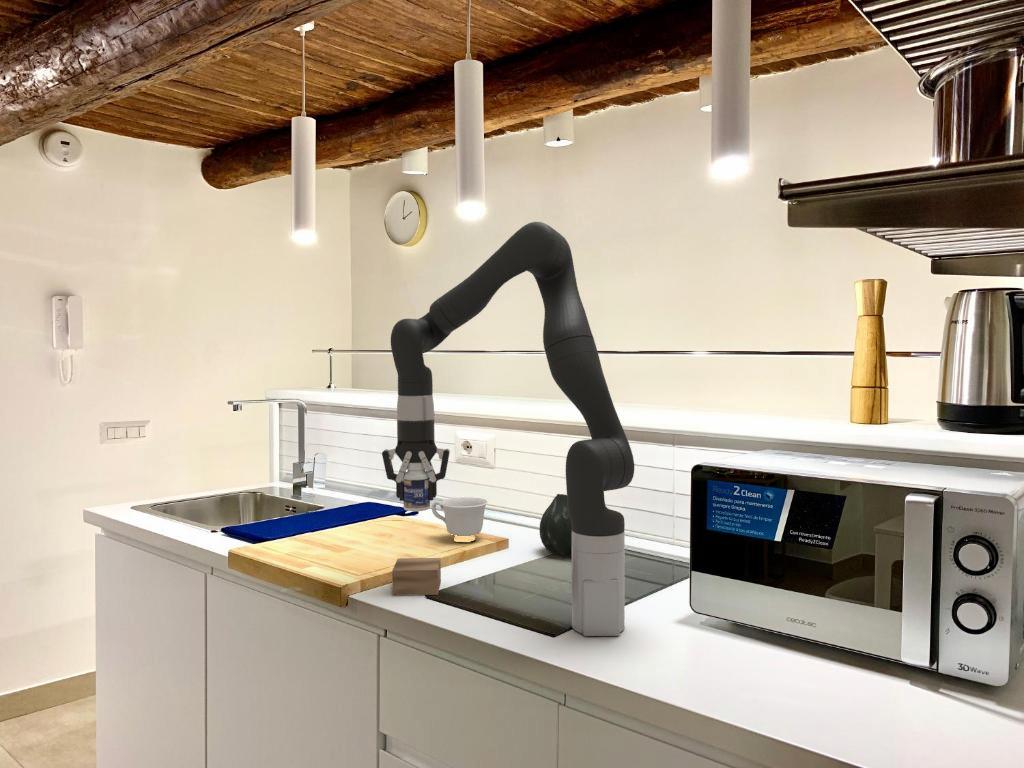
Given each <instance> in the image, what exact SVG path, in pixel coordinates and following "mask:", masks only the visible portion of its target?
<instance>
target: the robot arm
mask: <svg viewBox="0 0 1024 768" xmlns="http://www.w3.org/2000/svg"><path fill="white" fill-rule="evenodd" d="M574 265H575V264H574V260H573V253H572V249H571V247H570V244H569V242H568V240H567V238H565V237H564V236H563V235H562V234H561V233H560V232H559V231H557V230H555V229H554V228H553V227H552V226H550V225H549V224H547V223H545V222H542V221H532V222H528V223H527V224H525V225H523V226H522V227H521V228H519V229H518V230H517V231H515V233H513V234H512V235H511V236H510V237H509V238H508V239H507V240H506V241H505V242H504V243H503V244H502V245H501V246H500V247H499V248H498V249H497V250H496V251H495V252H494V253H493V254H492V255H491V256H490V257H488V259H486V261H484V262H483V263H482V264H481V265H480V266H479V267H478V268H477V269H476V270H475V271H473V272H472V273H471V274H470V275H468V277H466V278H465V279H464V280H462V281H461V282H459V283H458V284H457V285H456V286H454V287H453V288H451V289H450V290H448V291H447V292H445V293H444V294H443V295H441V296H440V297H437V299H436V300H434V301H433V302H432V303H431V304H430V307H429V311H428V312H427V313H425V315H423V316H421V317H419V318H403V319H400V320H398V321H397V322H396V323H395V324H394V325H393V327H392V330H391V333H390V347H391V348H390V349H391V354H392V358H393V362H394V366H395V370H396V372H397V373H396V374H397V402H396V425H397V426H396V429H397V431H396V434H397V437H396V438H397V439H396V440H397V441H396V446H395V448H392V449H386V448H385V449H384V450H383V451H382V452H381V455H382V460H383V467H384V469H385V475H386V479H387V480H391V481H394V483H395V485H396V486H395V487H396V488H395V490H396V491H395V493H396V499H399V501H401V502H402V501H403V502H404V497H403V476H404V474H405V473H406V472H407V471H408V469H407V466H408V464H409V463H423V466H424V468H425V471H426V472H427V474H428V476H429V478H430V482H429V500H430V502H431V501H434V498H436V497H437V494H438V492H437V491H438V490H437V487H438V486H437V484H438V483H437V482H438V481H440V480H444V479H445V477H446V474H447V469H448V468H447V467H448V464H449V458H450V452H451V451H450V449H449V448H438V446H437V445H436V442H435V415H436V414H435V413H436V412H435V404H434V397H433V393H434V392H433V391H434V389H433V387H434V386H433V385H434V384H433V373H432V370H431V368H430V367H428V366H427V365H426V364H425V360H424V354H425V353H428V352H431V351H433V350H434V349H435V348H437V347H439V345H441V343H443V342H444V341H445V340H446V339H447V338H448V337H449V336H450V335H451V334H452V333H453V332H454V331H456V330H457V329H459V328H460V327H462V326H463V325H464V324H465V325H466V323H468V322H469V321H470V320H472V319H474V318H475V317H477V315H479V314H480V313H481V312H482V311H483V310H484V309H485V308H486V307H487V306H488V304H489V303H490V302H491V300H492V298H493V297H494V295H496V293H497V292H498V291H499V290H500V289H501V287H503V285H505V284H506V283H507V282H509V281H510V280H512V279H513V278H515V277H517V276H519V275H521V274H523V273H525V272H528V273H530V274H532V275H533V277H534V280H535V281H536V283H537V287H538V289H539V292H540V295H541V299H542V302H543V308H544V319H543V326H542V327H543V328H542V329H543V330H542V339H543V340H542V343H543V349H544V353H545V356H546V360H547V361H546V362H547V364H548V367H549V371H550V375H551V377H552V379H553V380H554V383H556V385H557V386H558V388H559V389H560V390H561V392H562V393H564V395H565V396H566V397H567V398H568V400H569V401H570V402H571V403H572V404H573V405H574V406H575V408H576V409H577V410H578V411H579V413H580V414H581V415H582V417H583V419H584V421H585V423H586V426H587V428H588V430H589V431H588V432H589V435H590V437H591V439H589V438H588V439H581V440H578V441H575V442H574V443H573V444H572V445H571V446H570V447H569V449H568V451H567V455H566V458H565V459H566V460H565V485H566V495H567V507H568V512H569V516H570V519H571V525H572V554H571V627H572V629H573V630H575V632H577V633H580V634H582V635H583V637H610V636H611V637H614V636H615V637H617V636H620V634H621V632H623V631H624V630H625V627H626V626H625V624H626V623H625V617H626V616H625V615H626V614H625V613H626V612H625V608H626V607H625V545H626V543H625V539H626V538H625V536H626V535H625V530H626V529H625V525H626V524H625V517H624V515H623V514H622V513H621V512H620V511H617V510H615V509H610V508H609V507H607V506H606V501H605V492H607V491H615V490H619V489H623V488H626V487H628V486H629V485H630V483H632V480H634V479H633V478H634V475H635V461H634V455H633V451H632V448H631V445H630V442H629V440H628V438H627V435H626V433H625V430H624V428H623V425H622V423H621V420H620V418H619V416H618V413H617V410H616V407H615V405H614V402H613V400H612V397H611V393H610V390H609V388H608V384H607V381H606V378H605V374H604V372H603V366H602V364H601V360H600V355H599V352H598V349H597V345H596V341H595V338H594V335H593V333H592V329H591V327H590V323H589V319H588V317H587V313H586V310H585V308H584V305H583V302H582V298H581V295H580V291H579V287H578V284H577V283H578V282H577V277H576V272H575V267H574ZM436 454H438V459H439V460H441V463H440V468H439V472H437V473H436V472H435V469H434V466H433V463H432V459H433V457H434V456H435V455H436ZM395 455H396V456H397V457H398V458H399V460H400V461H401V464H400V467H399V470H398V473H395V471H394V467H393V462H392V460H394V458H395Z"/></svg>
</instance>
